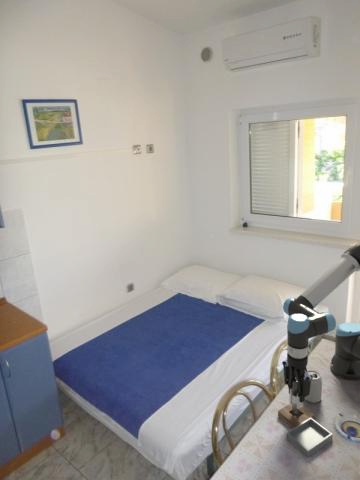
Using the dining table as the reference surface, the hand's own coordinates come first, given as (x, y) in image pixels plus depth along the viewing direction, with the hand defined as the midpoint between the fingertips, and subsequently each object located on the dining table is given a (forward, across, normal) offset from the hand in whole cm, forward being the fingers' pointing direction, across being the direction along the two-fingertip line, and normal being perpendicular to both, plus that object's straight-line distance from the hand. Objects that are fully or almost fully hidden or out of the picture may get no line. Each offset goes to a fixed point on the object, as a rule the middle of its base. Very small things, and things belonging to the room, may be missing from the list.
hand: (296, 404), depth 148 cm
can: (+7, -4, +14) cm, 16 cm away
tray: (+7, +10, -4) cm, 13 cm away
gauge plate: (+7, 0, 0) cm, 7 cm away
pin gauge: (+3, 0, 0) cm, 3 cm away
